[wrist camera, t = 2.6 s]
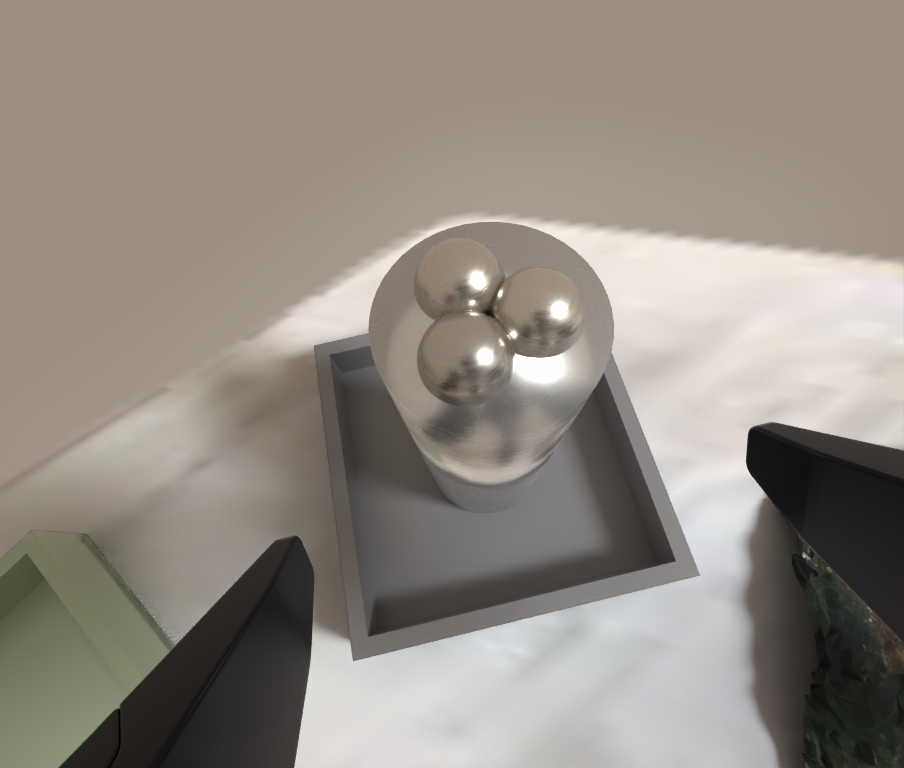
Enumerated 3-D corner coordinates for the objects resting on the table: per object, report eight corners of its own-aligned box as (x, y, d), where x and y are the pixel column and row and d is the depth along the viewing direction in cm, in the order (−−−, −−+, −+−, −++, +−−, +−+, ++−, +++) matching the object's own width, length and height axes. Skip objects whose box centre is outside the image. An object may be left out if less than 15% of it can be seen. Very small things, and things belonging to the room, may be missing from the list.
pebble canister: (545, 509, 19) (656, 409, 7) (433, 517, 19) (355, 433, 7) (530, 403, 21) (600, 178, 9) (428, 411, 21) (358, 200, 9)
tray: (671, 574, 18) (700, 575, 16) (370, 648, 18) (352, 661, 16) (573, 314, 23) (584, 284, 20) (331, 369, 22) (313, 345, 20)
